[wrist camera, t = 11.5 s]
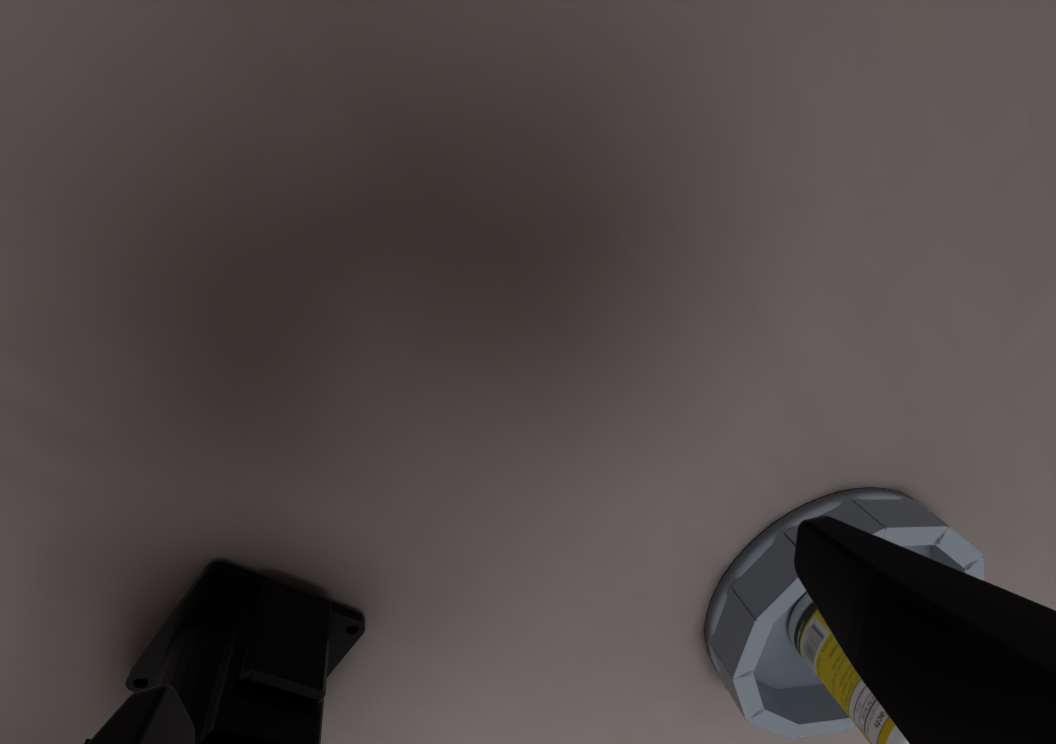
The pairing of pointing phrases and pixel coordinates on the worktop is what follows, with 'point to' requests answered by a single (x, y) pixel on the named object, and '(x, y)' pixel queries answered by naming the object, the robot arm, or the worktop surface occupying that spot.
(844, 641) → the robot arm
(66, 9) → the worktop surface
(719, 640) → the round dish
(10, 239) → the worktop surface
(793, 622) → the supplement bottle
